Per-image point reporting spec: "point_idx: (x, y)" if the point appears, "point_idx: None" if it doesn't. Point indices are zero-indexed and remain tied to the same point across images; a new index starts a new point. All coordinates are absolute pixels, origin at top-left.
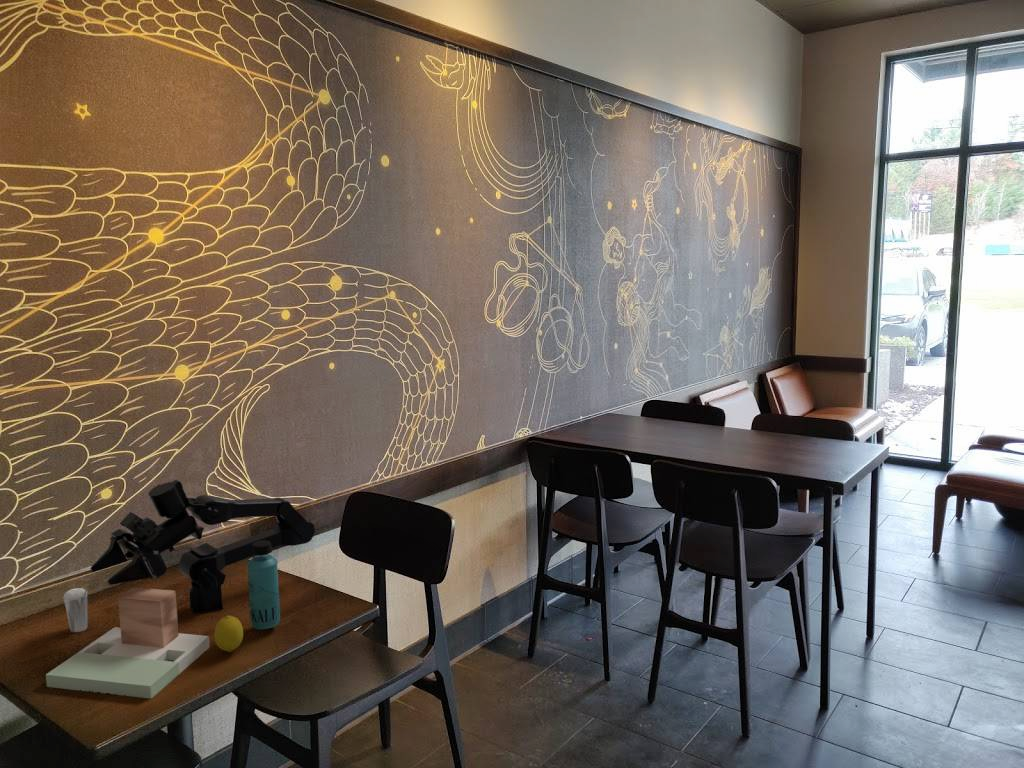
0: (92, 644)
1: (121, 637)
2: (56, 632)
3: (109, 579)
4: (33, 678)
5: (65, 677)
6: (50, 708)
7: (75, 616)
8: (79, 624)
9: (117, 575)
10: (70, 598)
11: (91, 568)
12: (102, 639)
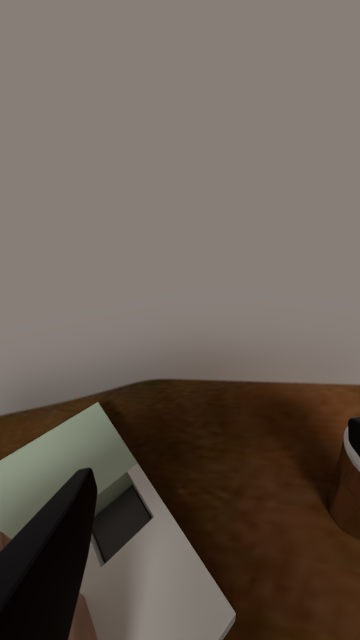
0: (151, 501)
1: None
2: None
3: (76, 473)
4: (150, 404)
5: (57, 427)
6: (36, 414)
7: (336, 478)
8: (333, 501)
9: (30, 524)
10: (346, 432)
11: (350, 420)
12: (163, 537)
